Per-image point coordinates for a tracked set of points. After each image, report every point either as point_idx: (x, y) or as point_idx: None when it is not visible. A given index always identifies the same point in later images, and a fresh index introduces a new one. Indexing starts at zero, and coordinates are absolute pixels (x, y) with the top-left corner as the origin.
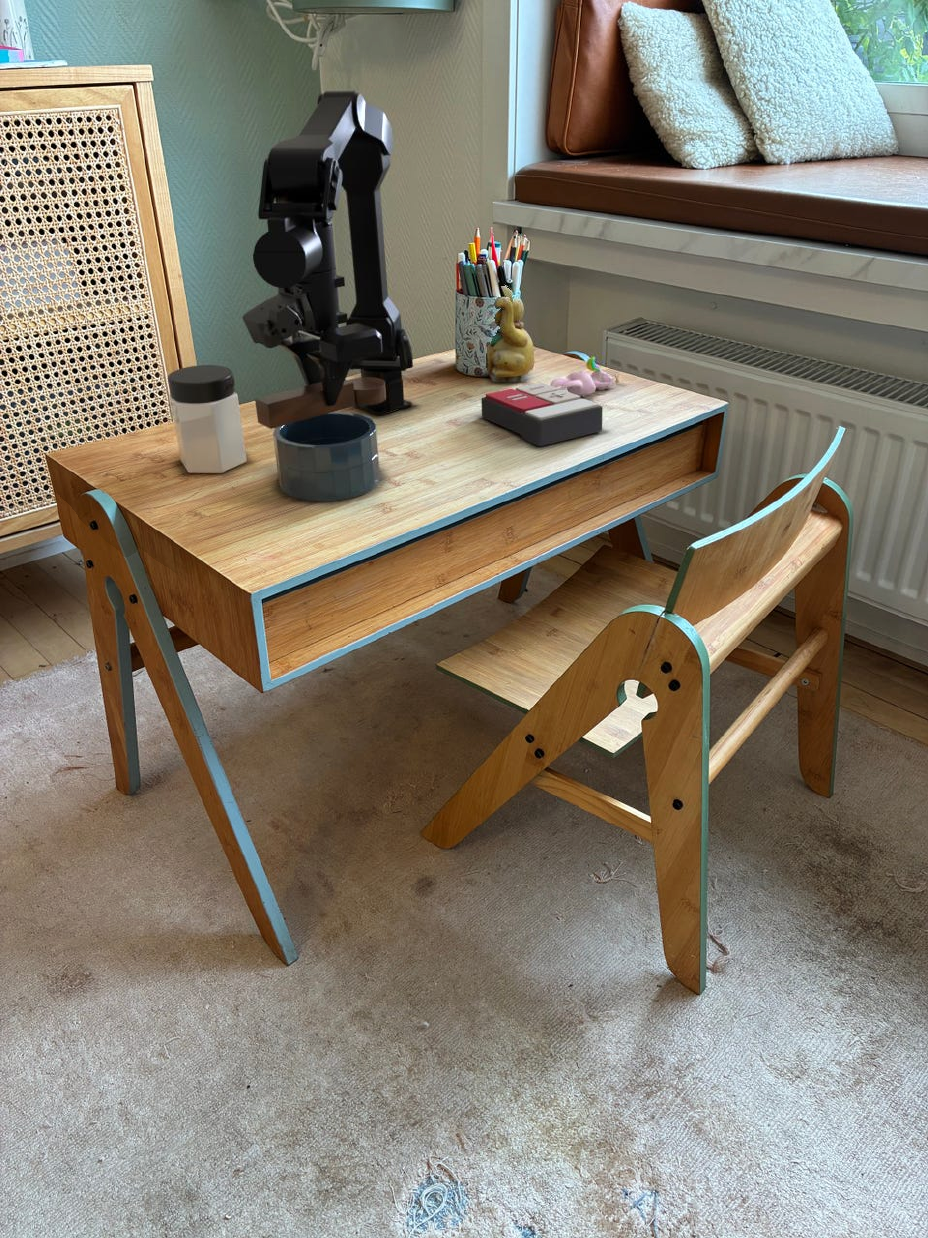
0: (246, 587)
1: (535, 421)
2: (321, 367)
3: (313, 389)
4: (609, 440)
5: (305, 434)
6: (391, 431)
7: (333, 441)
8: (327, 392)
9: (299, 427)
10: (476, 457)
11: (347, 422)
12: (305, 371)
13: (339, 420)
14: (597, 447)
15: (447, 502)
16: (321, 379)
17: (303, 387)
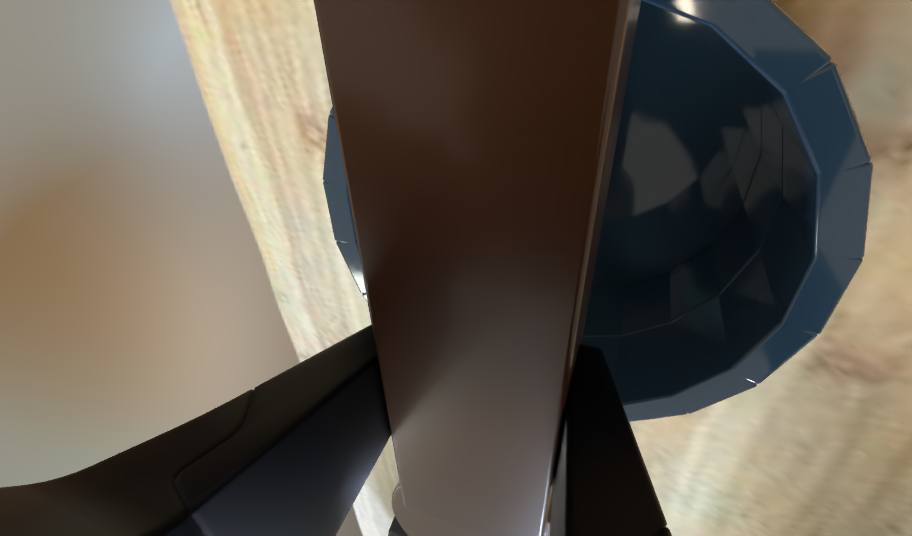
0: None
1: (400, 531)
2: (128, 492)
3: (434, 346)
4: (375, 521)
5: (771, 250)
6: (726, 485)
7: (680, 305)
8: (331, 346)
9: (792, 246)
10: None
11: (616, 379)
12: (565, 522)
13: (649, 376)
14: (363, 501)
15: (291, 247)
16: (296, 413)
17: (535, 345)
